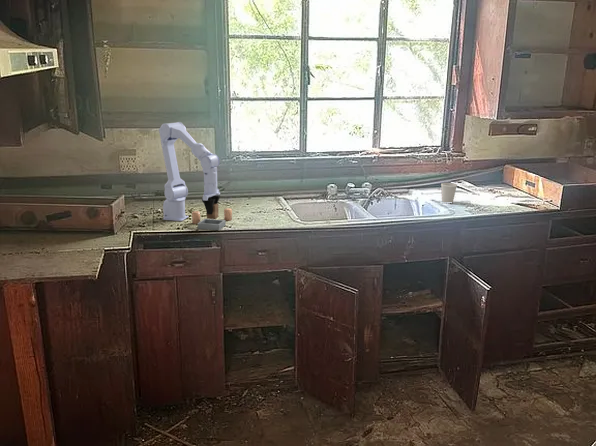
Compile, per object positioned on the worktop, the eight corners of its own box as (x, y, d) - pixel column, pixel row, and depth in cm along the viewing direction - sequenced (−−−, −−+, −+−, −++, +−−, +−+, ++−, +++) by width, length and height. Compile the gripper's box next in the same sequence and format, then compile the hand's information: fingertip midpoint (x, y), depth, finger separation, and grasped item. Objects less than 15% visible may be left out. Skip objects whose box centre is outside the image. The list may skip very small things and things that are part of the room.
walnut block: (206, 218, 250) (206, 205, 249) (209, 216, 254) (209, 203, 252) (215, 219, 250) (215, 206, 248) (218, 216, 253) (218, 203, 252)
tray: (197, 228, 250) (197, 223, 250) (204, 223, 258) (204, 218, 257) (219, 230, 248) (219, 225, 248) (225, 225, 256) (225, 220, 255)
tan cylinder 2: (223, 220, 263) (222, 209, 262) (225, 218, 267) (225, 208, 265) (230, 221, 263) (230, 210, 261) (233, 218, 266) (232, 208, 265)
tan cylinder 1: (191, 223, 258) (190, 212, 256) (194, 221, 261) (193, 210, 259) (198, 224, 257) (198, 213, 255) (201, 222, 260) (201, 211, 259)
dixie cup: (438, 203, 301) (440, 185, 298) (439, 200, 308) (441, 182, 306) (455, 205, 298) (456, 186, 296) (455, 201, 306) (457, 183, 303)
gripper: (213, 186, 240) (214, 217, 244) (225, 179, 254) (225, 209, 257) (197, 185, 241) (198, 216, 245) (210, 178, 255) (211, 208, 259)
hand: (211, 212), depth 251 cm, fingers closed on walnut block, 4 cm apart
